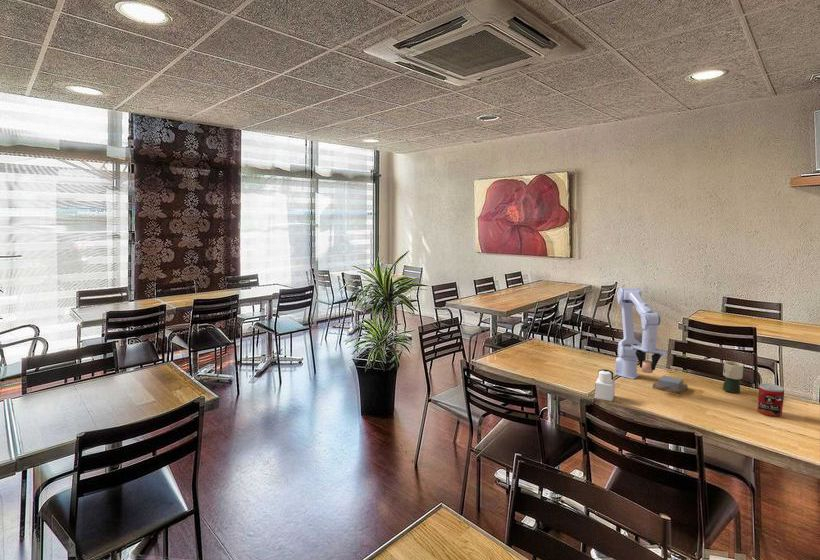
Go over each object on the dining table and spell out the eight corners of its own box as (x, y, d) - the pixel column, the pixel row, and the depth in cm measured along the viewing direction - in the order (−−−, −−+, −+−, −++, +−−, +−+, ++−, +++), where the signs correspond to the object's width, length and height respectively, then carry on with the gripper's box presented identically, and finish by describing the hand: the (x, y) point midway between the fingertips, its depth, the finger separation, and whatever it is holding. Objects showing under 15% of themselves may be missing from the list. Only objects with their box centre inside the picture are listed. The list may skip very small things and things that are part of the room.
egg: (640, 371, 199) (640, 361, 198) (643, 369, 202) (644, 359, 201) (650, 373, 196) (651, 364, 195) (654, 371, 198) (654, 361, 198)
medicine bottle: (596, 392, 197) (598, 367, 196) (614, 395, 194) (615, 369, 192) (594, 398, 191) (595, 371, 190) (612, 401, 188) (613, 374, 186)
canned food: (755, 413, 175) (757, 386, 173) (758, 407, 180) (761, 381, 179) (780, 419, 169) (783, 392, 168) (782, 413, 175) (785, 386, 174)
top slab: (658, 384, 202) (658, 379, 201) (663, 380, 207) (663, 375, 207) (677, 389, 196) (678, 383, 196) (682, 384, 202) (683, 379, 201)
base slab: (652, 389, 202) (652, 384, 202) (661, 383, 210) (661, 378, 209) (679, 396, 194) (679, 390, 194) (687, 390, 202) (687, 384, 201)
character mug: (725, 386, 204) (728, 359, 203) (744, 390, 199) (747, 362, 197) (717, 392, 197) (720, 364, 196) (736, 396, 192) (739, 367, 190)
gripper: (628, 337, 200) (627, 366, 201) (663, 343, 189) (661, 374, 190) (635, 334, 204) (633, 363, 206) (669, 340, 193) (667, 370, 195)
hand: (647, 368), depth 198 cm, fingers closed on egg, 4 cm apart
